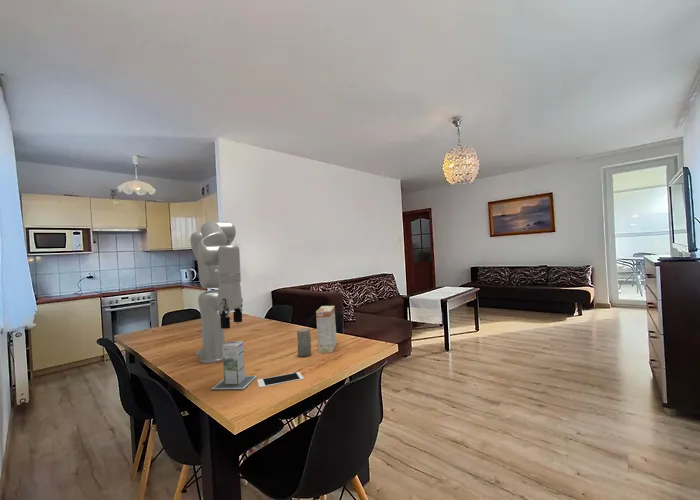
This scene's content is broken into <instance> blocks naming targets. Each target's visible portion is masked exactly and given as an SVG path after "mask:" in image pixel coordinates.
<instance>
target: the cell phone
mask: <svg viewBox="0 0 700 500" xmlns="http://www.w3.org/2000/svg"><path fill="white" fill-rule="evenodd" d="M304 379H305V378H304V376H303V374H302V373H301V372H300V371H295V372H292V373H285V374H280V375H275V376H269V377H264V378H259V379H257V380H256V382H257V384H258V387H259V389H261V388H264V387H270V386H276V385H280V384H285V383H291V382H295V381H300V380H304Z"/></svg>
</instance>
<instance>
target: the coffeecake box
mask: <svg viewBox="0 0 700 500" xmlns="http://www.w3.org/2000/svg"><path fill="white" fill-rule="evenodd" d="M335 310H336V308H335V305H321V306H320V307H319V308H318V309H316V311H315V317H316V319H315V320H316V332H317V334H316V335H317V354H326V353H327V354H331V353H334V351H335V349H336V347H337V344H338V342H337V325H336V311H335Z"/></svg>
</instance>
